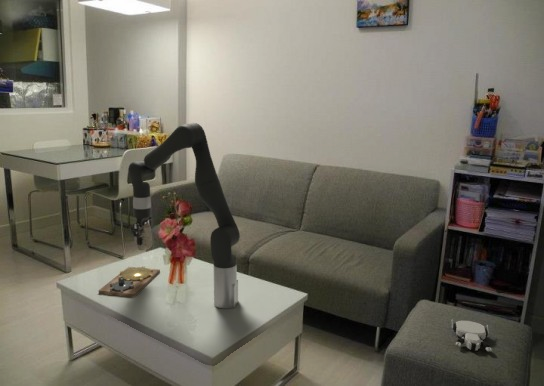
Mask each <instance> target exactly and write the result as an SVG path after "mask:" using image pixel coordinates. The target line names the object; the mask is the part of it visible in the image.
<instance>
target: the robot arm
mask: <svg viewBox="0 0 544 386" xmlns="http://www.w3.org/2000/svg"><path fill="white" fill-rule="evenodd" d="M185 149H192V151H193V154H194V155H193V156H194V158H195V171H194V184H195V186H196V189H197V192H198V195H199V197H200V199H201V201H202V202H203V203H204V204H205V206H206V207H207V208H208V209H209V210H210V211H211V212H212V214H213V215H214V217H215V220H216V222H217V225H218V227H216V228H214V229H213V230H212V231H211V234H210V255H211V259H212V261H213V262H212V263H213V302H214V303H213V304H214V306H215V307H216V308H220V309H231V308H235V307H236V306H237V304H238V302H239V279H238V278H237V277H238V276H237V274H238V273H237V270H238V269H237V263H238V262H237V261H238V260H237V257H236V256H235V255H234V254H232V247H234V246H235V245H236V244H237V243H238V242H239V241H240V238H241V237H240V236H241V234H240V230H239V228H238V225H237V223H236V221H235V219H234V216H233V214H232V212H231V210H230V208H229V205H228V202H227V200H226V197H225V194H224V191H223V188H222V185H221V182H220V179H219V177H218V176H219V175H218V173H217V171H216V168H215V165H214V161H213V159H212V156H211V152H210V147H209V144H208V139H207V136H206V133H205V129H204V128H203V126H201V125H200V124H199V123H197V122H192V123H185V124H181V125H179V126H178V127H177V128H175V130H173V132H171V134H170V135H169V136H168V137H167V138H166V139H165V140H164V141H163V142H162V143H161V144H160V145H158V146H156V147H155V148H154V149H153V150H151V151H150V152H148V153H147V154H145V156H144V157H143V160H137V161H132V162H130V164H129V166H128V169H127V171H128V172H127V173H128V176H129V179H130V182H131V185H132V193H133V198H132V208H133V217H134V218H135V219H136V223H132V232H133V233H132V234H133V237H134V238H135V237H137V245H142V234H143V232H144V226H145V225H146V223H149V224H150V226H151V230H152V228H153V216H152V199H151V186H150V183H148V181H143V178H144V177H148V176H151V175H153V174H154V173H155V172H156V170H157V169H158V168H159V167H162V166H163V165H164V164H165V163H167V162H168V161H169V160H170V159H171V157H172V156H173V154H175V153H177V152H179V151H181V150H185ZM142 226H143V228H142V230H140V227H142ZM140 232H141V233H140Z"/></svg>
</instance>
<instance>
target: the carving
mask: <svg viewBox="0 0 544 386" xmlns="http://www.w3.org/2000/svg"><path fill="white" fill-rule="evenodd" d="M142 228H143V226H142V227H140V230H142ZM140 233H141V232H140ZM134 242H135V246H136V248H137V250H139V251H147V250H149V249H150V248H152V246H153V235H152V229H151V226H150V224H149V223H146V225H145V226H144V232H143V234H142V245H137V237H134Z"/></svg>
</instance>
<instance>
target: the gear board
mask: <svg viewBox="0 0 544 386" xmlns="http://www.w3.org/2000/svg"><path fill="white" fill-rule="evenodd" d="M160 273H161V269H158V268H157V269H156V268H147V267H146V266H143V265H142V266H141V267H140V266H139V267H137V266H136V267H135V266H128V267H126V268H125V269H124V270H120V271H119V273H118V275H116V276H115V277H114V278H113V279H111V280H110V281H109V282H107V283H106V284H105V285H103V287H101V288H100V289H98V294H99V295H108V296H109V295H110V296H116V297H117V296H118V297H124V298H125V297H126V298H135V297H136V296H137V295H138V294H139V293H140V292H141V291H142V290H143V289H144V288H145V287H147V286H148V285H149V284H150V283H151V282H152V281H153V280H154V279H155V278H156V277H157V276H158V275H159V274H160Z"/></svg>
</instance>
